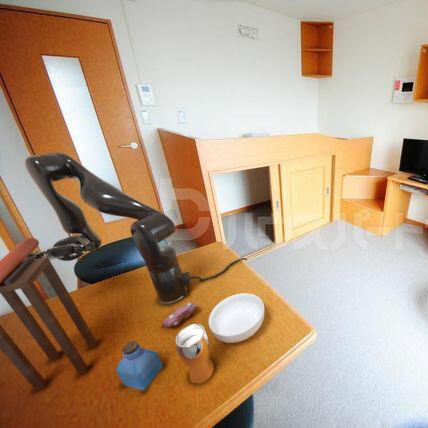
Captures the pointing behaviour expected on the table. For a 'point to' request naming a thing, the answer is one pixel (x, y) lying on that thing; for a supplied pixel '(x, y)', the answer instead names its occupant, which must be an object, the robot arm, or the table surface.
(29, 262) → the shelf stand
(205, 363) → the silver metal tumbler
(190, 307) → the video game controller
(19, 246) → the sausage
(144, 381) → the perfume bottle
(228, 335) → the cereal bowl
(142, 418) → the table surface
